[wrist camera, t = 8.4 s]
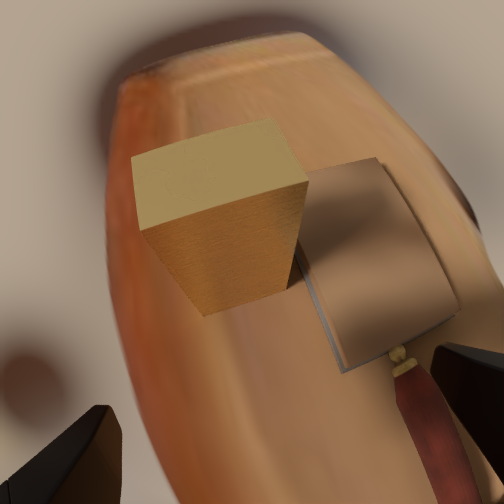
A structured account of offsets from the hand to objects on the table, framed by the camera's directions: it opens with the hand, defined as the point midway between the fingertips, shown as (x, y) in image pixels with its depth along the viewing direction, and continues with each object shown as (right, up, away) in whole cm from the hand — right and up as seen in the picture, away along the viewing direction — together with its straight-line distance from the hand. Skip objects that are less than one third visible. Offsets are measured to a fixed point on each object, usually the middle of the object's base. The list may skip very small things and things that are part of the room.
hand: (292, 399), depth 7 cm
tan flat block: (+6, +3, +12) cm, 14 cm away
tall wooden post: (-2, +2, +11) cm, 12 cm away
